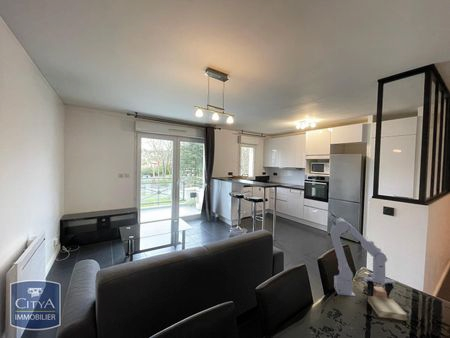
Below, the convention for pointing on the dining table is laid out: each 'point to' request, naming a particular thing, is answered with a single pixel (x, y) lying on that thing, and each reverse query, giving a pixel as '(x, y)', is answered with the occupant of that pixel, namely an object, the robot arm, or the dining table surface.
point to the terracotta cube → (379, 292)
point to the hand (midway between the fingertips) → (379, 294)
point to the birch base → (387, 308)
